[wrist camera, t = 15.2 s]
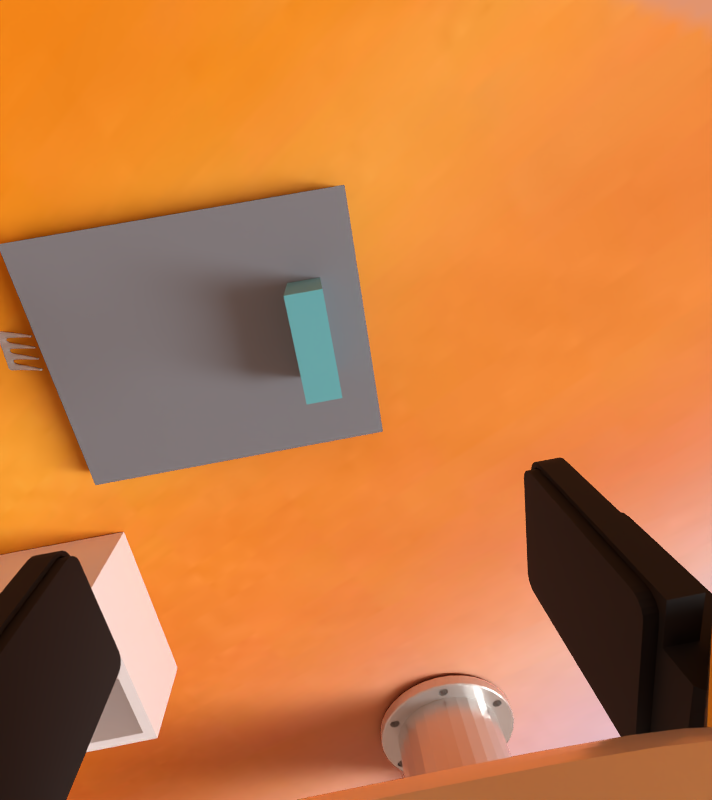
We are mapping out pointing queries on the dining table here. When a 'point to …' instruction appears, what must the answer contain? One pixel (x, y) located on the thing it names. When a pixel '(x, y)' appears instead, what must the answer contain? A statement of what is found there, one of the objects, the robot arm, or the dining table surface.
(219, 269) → the lid
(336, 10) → the dining table surface
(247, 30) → the dining table surface
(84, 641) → the robot arm
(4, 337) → the fork
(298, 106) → the dining table surface
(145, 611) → the tub
